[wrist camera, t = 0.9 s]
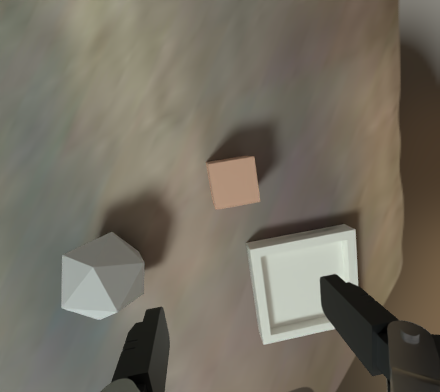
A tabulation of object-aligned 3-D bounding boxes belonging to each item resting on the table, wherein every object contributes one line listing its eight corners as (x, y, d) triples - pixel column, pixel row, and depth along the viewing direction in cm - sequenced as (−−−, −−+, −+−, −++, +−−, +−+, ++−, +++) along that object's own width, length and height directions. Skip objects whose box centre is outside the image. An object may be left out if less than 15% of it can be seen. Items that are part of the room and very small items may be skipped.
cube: (205, 162, 31) (208, 164, 26) (244, 155, 31) (254, 156, 26) (212, 200, 32) (215, 209, 27) (250, 194, 32) (260, 201, 27)
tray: (245, 242, 33) (249, 249, 31) (344, 223, 34) (355, 229, 32) (259, 331, 36) (263, 344, 33) (349, 312, 37) (360, 323, 34)
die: (77, 283, 32) (92, 354, 26) (38, 240, 26) (46, 318, 20) (138, 251, 36) (166, 307, 29) (116, 206, 30) (145, 264, 23)
